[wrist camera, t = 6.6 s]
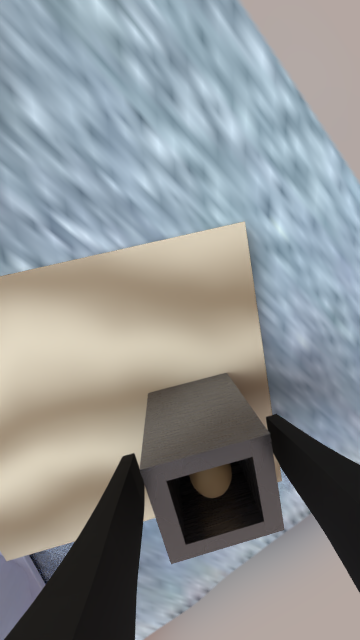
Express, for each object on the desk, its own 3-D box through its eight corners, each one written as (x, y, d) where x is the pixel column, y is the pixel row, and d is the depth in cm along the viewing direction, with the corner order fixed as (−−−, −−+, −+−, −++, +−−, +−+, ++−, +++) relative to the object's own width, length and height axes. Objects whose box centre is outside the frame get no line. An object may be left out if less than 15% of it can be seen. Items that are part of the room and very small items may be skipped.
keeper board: (270, 462, 16) (334, 568, 10) (21, 533, 15) (-68, 696, 9) (234, 228, 12) (304, 180, 6) (-106, 305, 11) (-402, 334, 5)
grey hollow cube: (239, 438, 13) (284, 530, 8) (167, 458, 13) (171, 563, 8) (226, 372, 12) (270, 433, 7) (148, 392, 12) (139, 469, 7)
